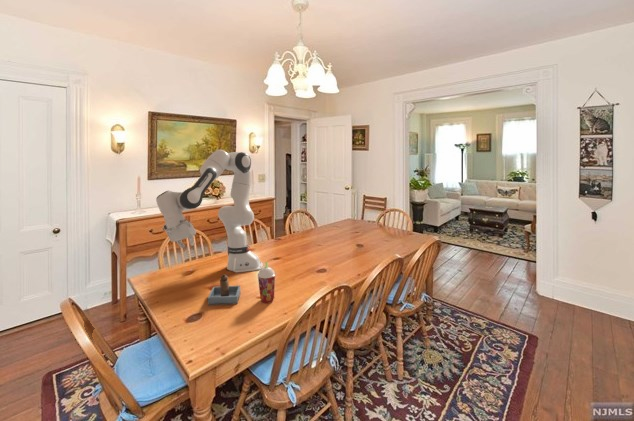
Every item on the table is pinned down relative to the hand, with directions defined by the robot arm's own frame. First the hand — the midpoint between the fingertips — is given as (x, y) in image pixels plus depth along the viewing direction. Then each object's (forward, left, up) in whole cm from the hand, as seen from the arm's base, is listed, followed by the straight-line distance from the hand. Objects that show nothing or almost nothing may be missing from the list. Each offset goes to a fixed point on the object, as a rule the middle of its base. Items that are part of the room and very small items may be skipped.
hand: (188, 246), depth 162 cm
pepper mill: (-20, +13, -23) cm, 33 cm away
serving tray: (-20, +13, -24) cm, 33 cm away
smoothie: (-41, +17, -24) cm, 50 cm away
